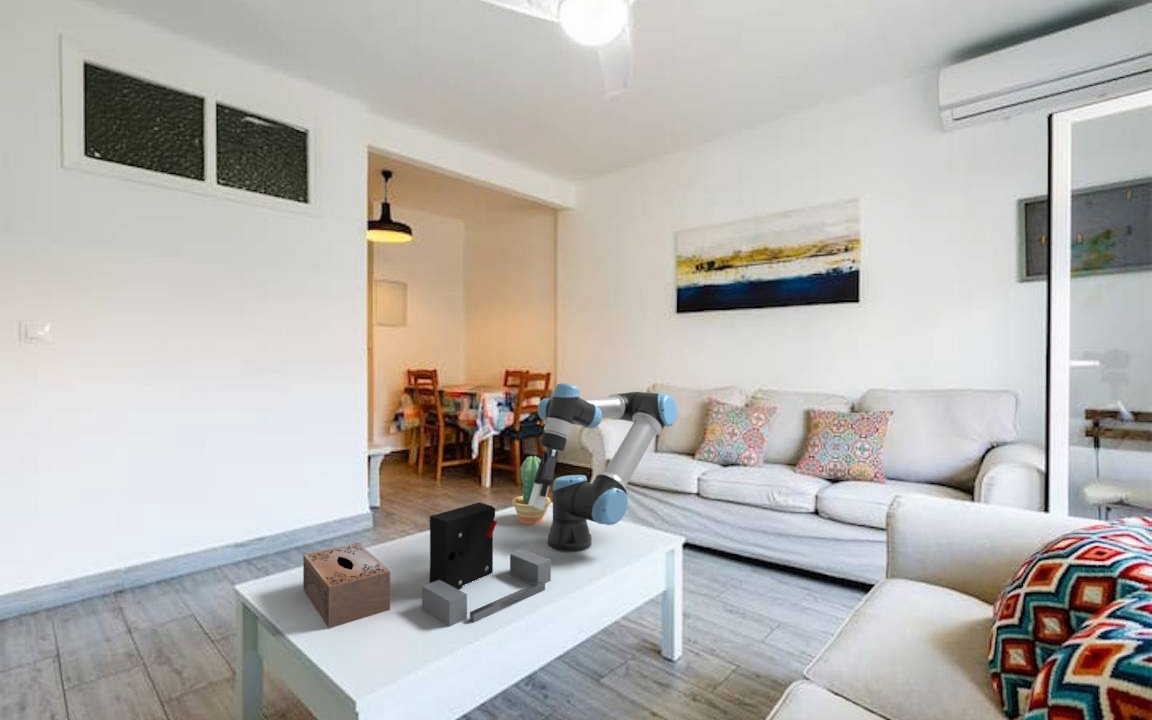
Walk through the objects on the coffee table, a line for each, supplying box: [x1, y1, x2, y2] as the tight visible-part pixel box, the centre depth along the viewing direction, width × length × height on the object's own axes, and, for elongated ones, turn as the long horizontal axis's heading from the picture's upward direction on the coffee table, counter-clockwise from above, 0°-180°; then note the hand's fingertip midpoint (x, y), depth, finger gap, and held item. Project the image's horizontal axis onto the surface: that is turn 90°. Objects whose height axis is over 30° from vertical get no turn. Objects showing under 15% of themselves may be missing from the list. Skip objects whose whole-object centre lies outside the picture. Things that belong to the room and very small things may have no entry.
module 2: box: [509, 548, 552, 585], centre depth 151 cm, size 5×12×6 cm, turn 48°
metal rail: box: [469, 581, 546, 623], centre depth 135 cm, size 24×2×2 cm, turn 138°
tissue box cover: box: [302, 542, 391, 629], centre depth 137 cm, size 26×14×10 cm, turn 40°
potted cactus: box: [511, 455, 552, 525], centre depth 203 cm, size 15×15×25 cm
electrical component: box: [428, 502, 498, 590], centre depth 149 cm, size 18×10×20 cm, turn 141°
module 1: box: [421, 580, 468, 627], centre depth 130 cm, size 5×12×6 cm, turn 48°
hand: (535, 507), depth 148 cm, fingers open, 13 cm apart
